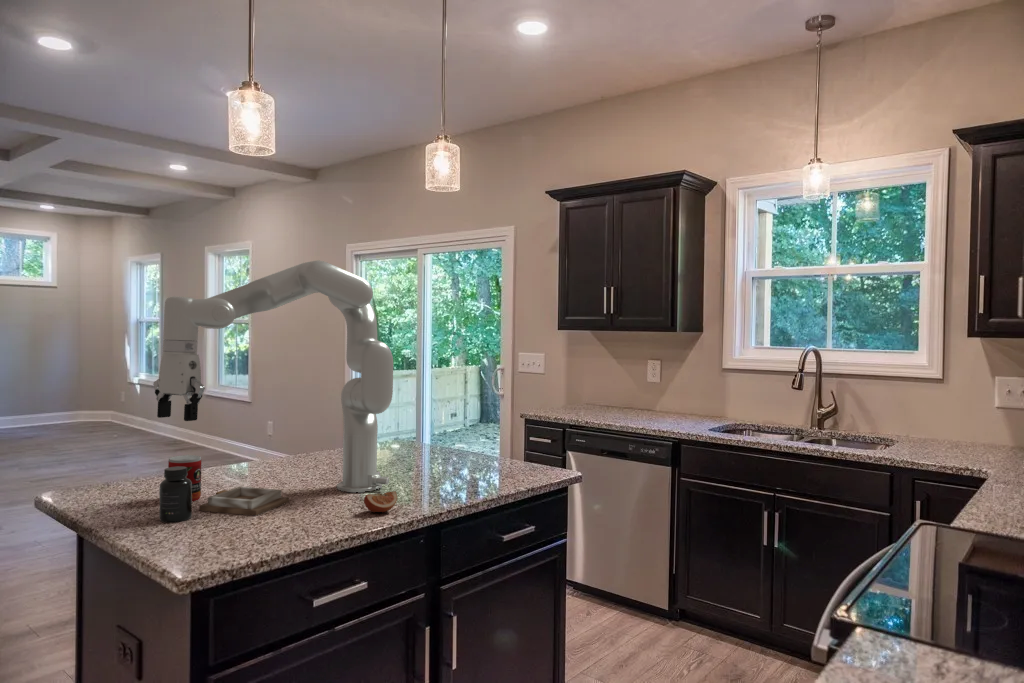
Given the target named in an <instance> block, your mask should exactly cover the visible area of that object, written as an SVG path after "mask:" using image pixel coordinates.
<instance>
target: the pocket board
mask: <svg viewBox="0 0 1024 683" xmlns="http://www.w3.org/2000/svg"><path fill="white" fill-rule="evenodd" d="M287 502H288V503H289V502H290V497H289V496H282V489H274V488H263V487H251V486H250V487H249V486H238V487H234V488H231V489H228V490H227V489H223V490H220V491H216V492H215V494H214V495H211V496H208V497H207V502H206V503H204V504H200V505H198V506H199V508H198V511H200V510H202V511H203V512H210V511H211V512H212V513H224V514H232V515H242V514H243V515H242V516H245V515H246V516H253V515H257V516H259V515H262V514H264V513H266V511H267V512H269V511H271V510H273V508H274V509H276V508H278V507H280V505H281V506H283V505H285V504H284V503H286V504H287ZM282 504H283V505H282ZM275 507H276V508H275ZM268 510H269V511H268ZM202 511H201V512H202ZM263 512H264V513H263ZM261 513H262V514H261ZM258 514H259V515H258Z"/></svg>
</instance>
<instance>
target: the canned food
mask: <svg viewBox="0 0 1024 683" xmlns="http://www.w3.org/2000/svg"><path fill="white" fill-rule="evenodd" d="M167 464H168V466H167V468H169V467H177V466H183V467H187V473H188V475H187V476H186V478H188V479H190V480H191V482H192V501H193V502H196V500H197V501H199V500H200V499H201V496H202V456H200V455H196V454H195V455H194V454H191V455H190V454H186V455H176V456H172V457H169V458H168V463H167ZM198 499H199V500H198Z"/></svg>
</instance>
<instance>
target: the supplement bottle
mask: <svg viewBox="0 0 1024 683" xmlns="http://www.w3.org/2000/svg"><path fill="white" fill-rule="evenodd" d="M163 471H164V474H163V477H164V479H163V480H162V481H161V482H160V483H159V487H158V488H159V490H158V491H159V520H160V521H161V522H162V523H169V524H170V523H180V522H184V521H189V519H191V518H192V515H193V502H192V482H191V480H190V479H188V478H186V476H187V475H188V473H187V467H183V466H177V467H169V468H168V467H166V468H164V470H163Z"/></svg>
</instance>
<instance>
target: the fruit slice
mask: <svg viewBox="0 0 1024 683" xmlns="http://www.w3.org/2000/svg"><path fill="white" fill-rule="evenodd" d="M397 502H398V494H397V491H396V490H394V491H388V492H387V491H386V492H384V493H379V492H378V493H370V494H369V493H368V494H365V496H364V499H363V504H364V506H365V507H366V509H368V510H369V511H370V512H372V513H375V512H382V513H385V512H387V511H390V510H391V509H392V508H394V507H395V505H396V504H397Z"/></svg>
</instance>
